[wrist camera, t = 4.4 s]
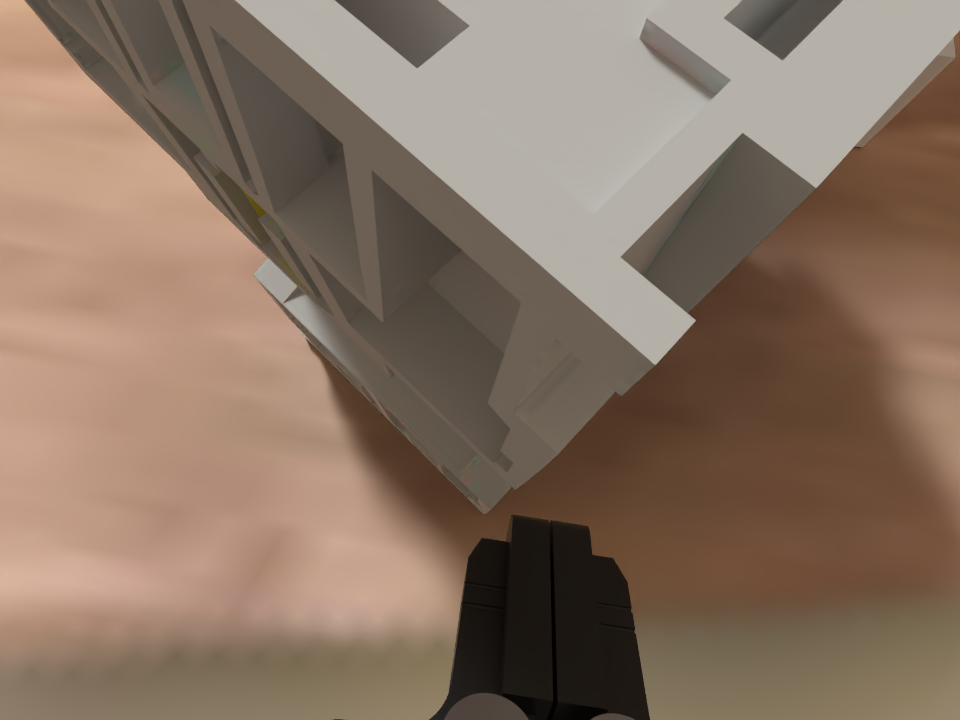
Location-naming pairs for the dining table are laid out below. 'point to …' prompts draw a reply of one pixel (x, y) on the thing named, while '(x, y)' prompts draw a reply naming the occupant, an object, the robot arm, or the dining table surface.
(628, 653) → the robot arm
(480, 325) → the circuit breaker
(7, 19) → the dining table surface
